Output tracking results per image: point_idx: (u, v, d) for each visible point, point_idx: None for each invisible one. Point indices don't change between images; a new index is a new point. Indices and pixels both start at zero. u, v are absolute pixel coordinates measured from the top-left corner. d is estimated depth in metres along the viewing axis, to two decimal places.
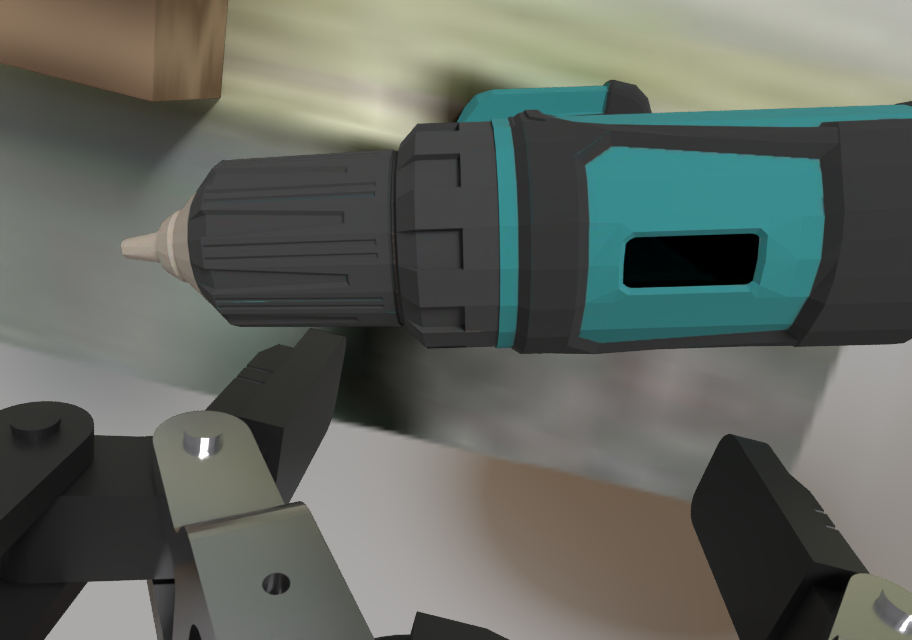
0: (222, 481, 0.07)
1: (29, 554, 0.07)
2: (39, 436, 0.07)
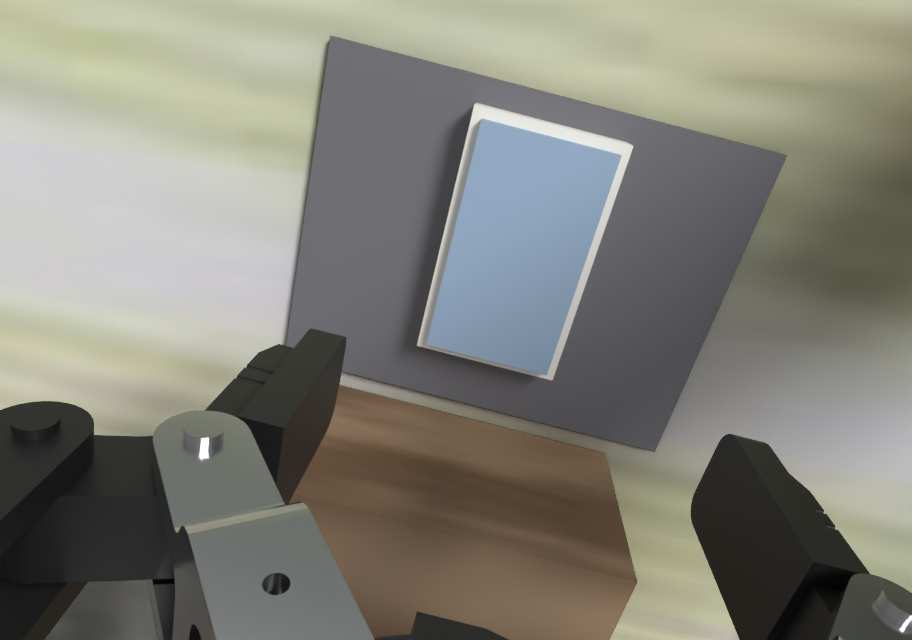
0: (222, 481, 0.07)
1: (29, 554, 0.07)
2: (39, 436, 0.07)
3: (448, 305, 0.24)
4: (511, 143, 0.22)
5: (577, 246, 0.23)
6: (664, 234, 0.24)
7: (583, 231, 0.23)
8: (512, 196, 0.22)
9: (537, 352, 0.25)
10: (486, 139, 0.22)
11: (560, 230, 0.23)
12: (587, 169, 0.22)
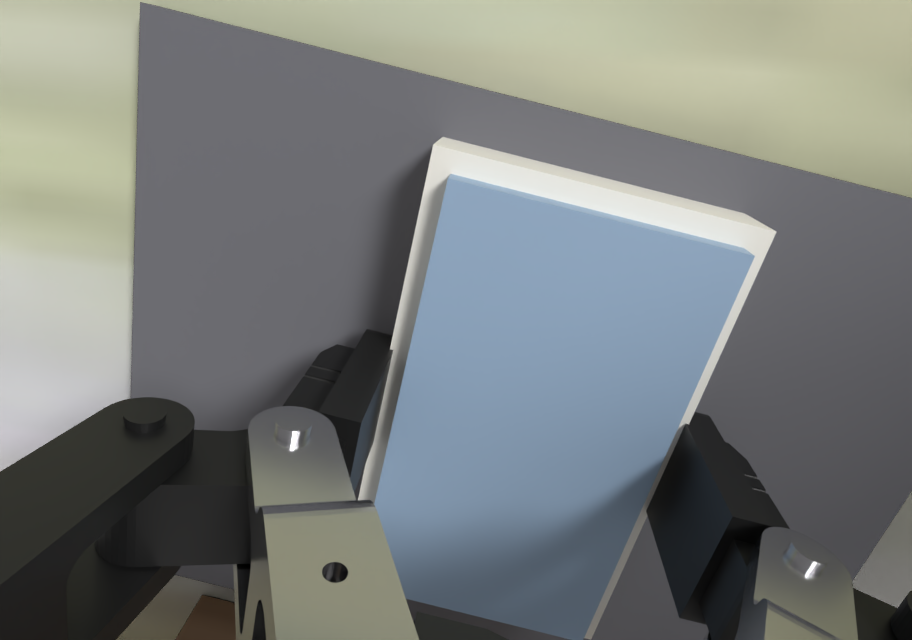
0: (318, 471, 0.08)
1: (127, 539, 0.08)
2: (149, 430, 0.08)
3: (393, 524, 0.13)
4: (513, 229, 0.10)
5: (649, 429, 0.11)
6: (807, 383, 0.13)
7: (663, 402, 0.11)
8: (515, 334, 0.11)
9: (566, 606, 0.13)
10: (459, 220, 0.10)
11: (615, 399, 0.11)
12: (677, 283, 0.10)
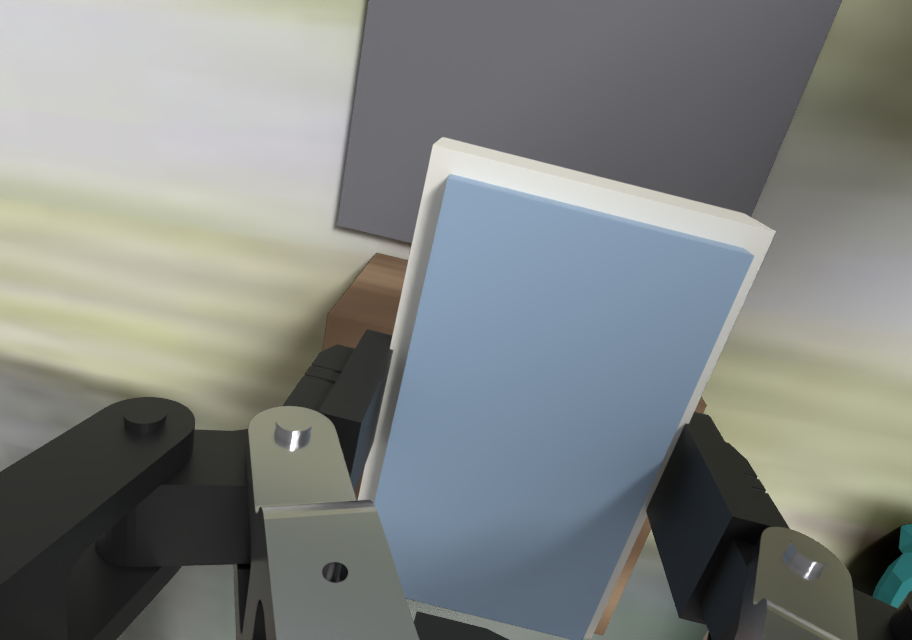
0: (318, 471, 0.08)
1: (127, 539, 0.08)
2: (150, 429, 0.08)
3: (393, 524, 0.13)
4: (513, 229, 0.10)
5: (649, 429, 0.11)
6: (722, 74, 0.24)
7: (662, 402, 0.11)
8: (515, 333, 0.11)
9: (565, 606, 0.13)
10: (459, 220, 0.10)
11: (615, 399, 0.11)
12: (677, 283, 0.10)
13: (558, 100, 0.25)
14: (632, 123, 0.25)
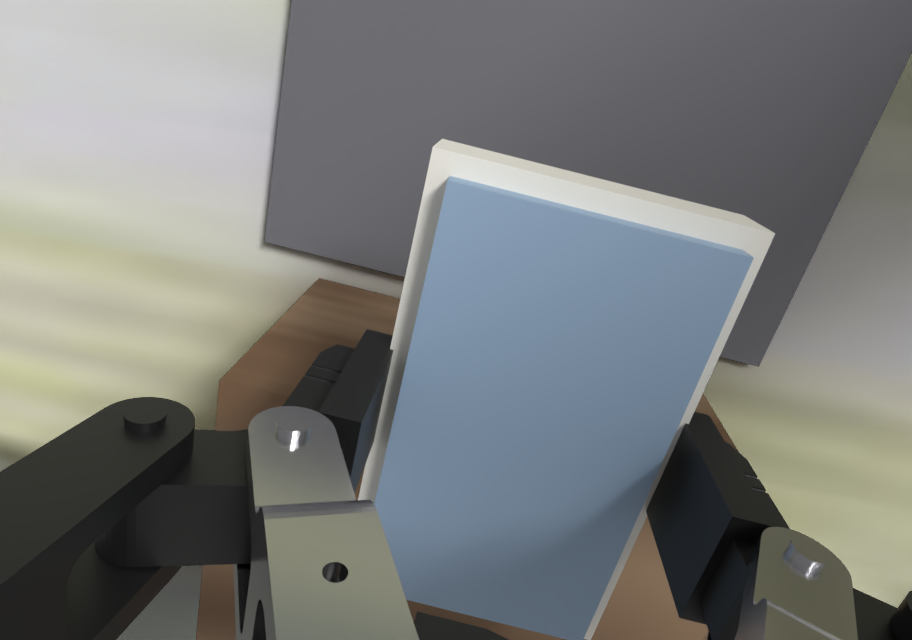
0: (318, 471, 0.08)
1: (127, 539, 0.08)
2: (150, 429, 0.08)
3: (393, 525, 0.13)
4: (513, 231, 0.10)
5: (648, 430, 0.11)
6: (793, 42, 0.17)
7: (662, 403, 0.11)
8: (515, 335, 0.11)
9: (565, 607, 0.13)
10: (459, 222, 0.10)
11: (614, 400, 0.11)
12: (676, 284, 0.10)
13: (563, 75, 0.18)
14: (664, 109, 0.18)
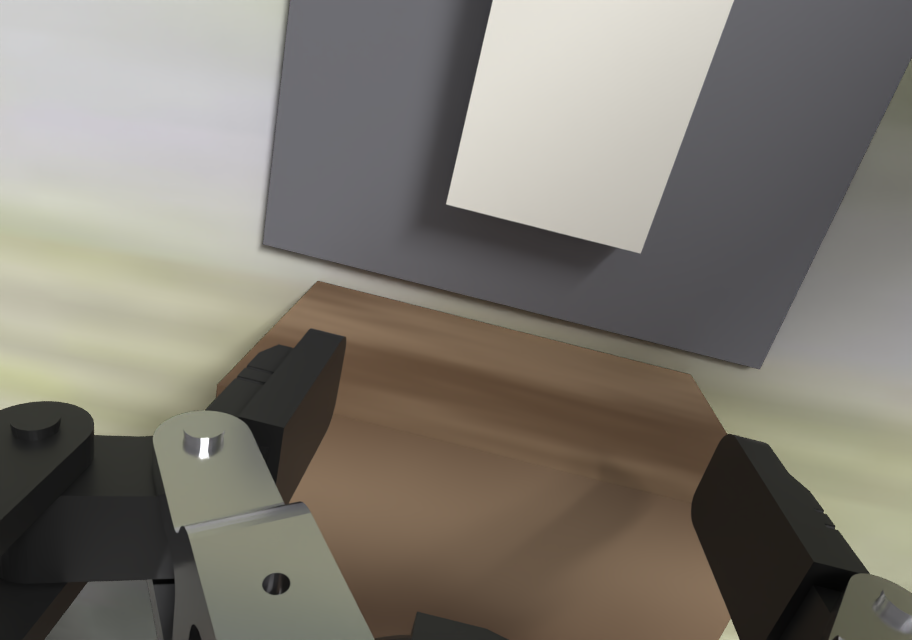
0: (222, 481, 0.07)
1: (29, 554, 0.07)
2: (39, 436, 0.07)
3: None
4: None
5: None
6: (794, 43, 0.17)
7: None
8: None
9: None
10: None
11: None
12: None
13: None
14: None
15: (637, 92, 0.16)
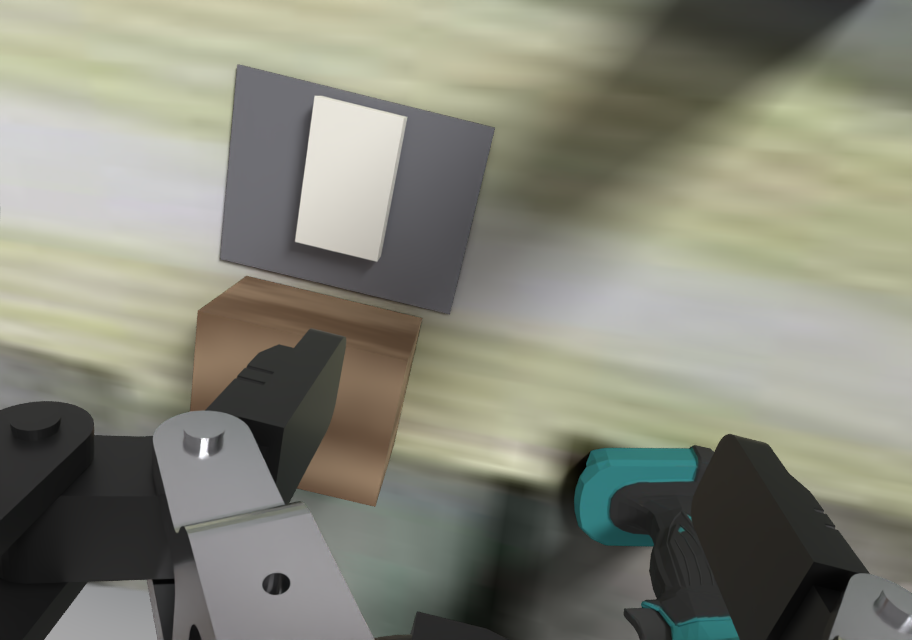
0: (222, 481, 0.07)
1: (29, 554, 0.07)
2: (39, 436, 0.07)
3: None
4: None
5: None
6: (435, 175, 0.42)
7: None
8: None
9: None
10: None
11: None
12: None
13: None
14: None
15: (365, 198, 0.41)
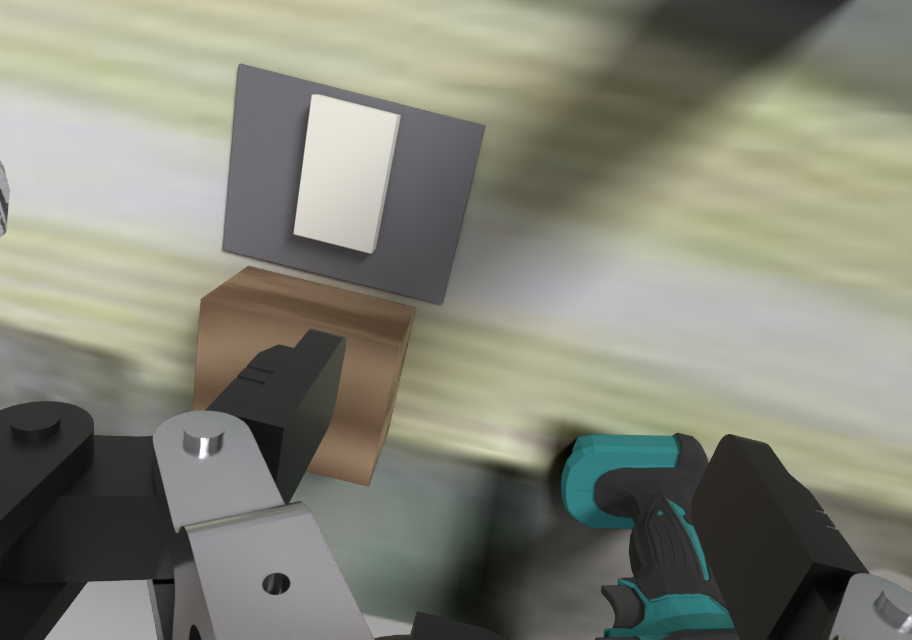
0: (222, 481, 0.07)
1: (29, 554, 0.07)
2: (39, 436, 0.07)
3: None
4: None
5: None
6: (427, 171, 0.44)
7: None
8: None
9: None
10: None
11: None
12: None
13: None
14: None
15: (360, 192, 0.43)
